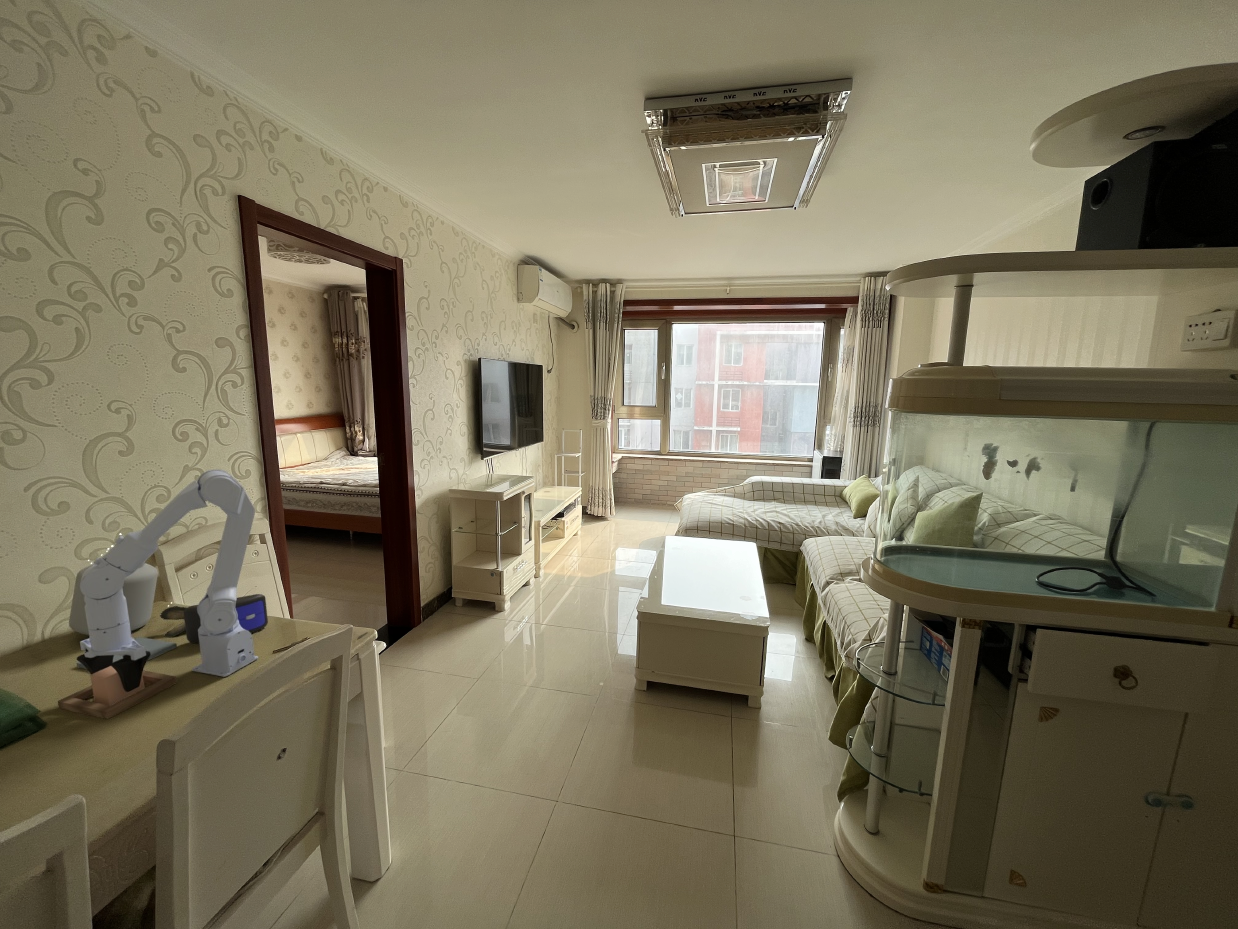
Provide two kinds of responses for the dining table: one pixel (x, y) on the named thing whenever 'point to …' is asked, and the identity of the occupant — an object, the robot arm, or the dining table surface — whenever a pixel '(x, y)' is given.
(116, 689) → the terracotta block
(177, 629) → the eagle figurine
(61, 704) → the brown wooden frame
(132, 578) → the jar
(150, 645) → the mat
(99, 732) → the dining table surface
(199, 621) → the dark rounded block
